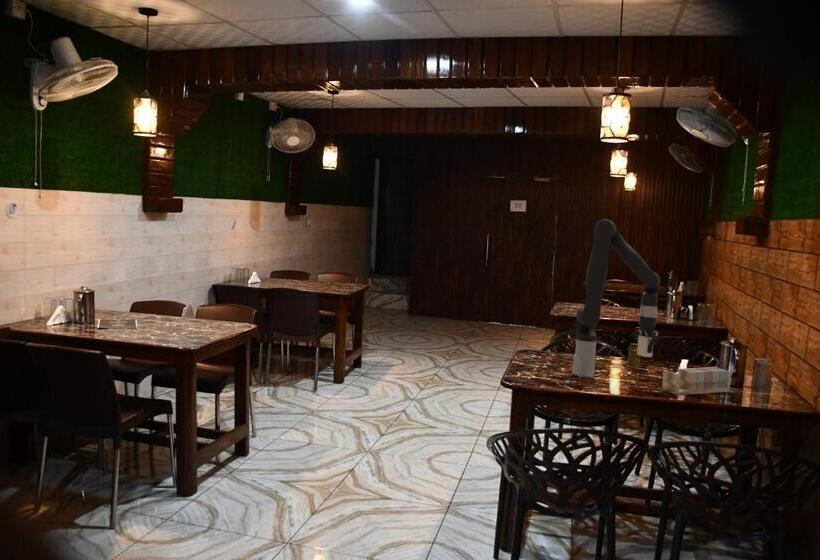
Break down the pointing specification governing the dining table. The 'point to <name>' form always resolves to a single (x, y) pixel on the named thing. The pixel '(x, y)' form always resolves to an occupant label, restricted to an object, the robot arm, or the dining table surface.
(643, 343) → the cream block
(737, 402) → the dining table surface
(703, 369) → the pastel slab stack
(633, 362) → the condiment
